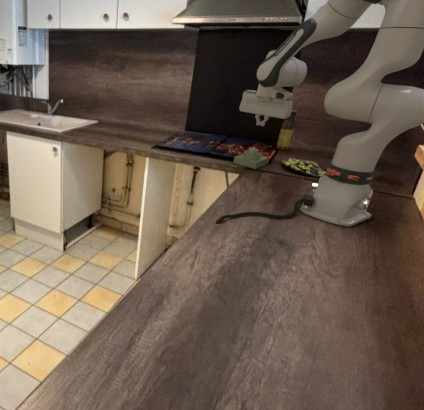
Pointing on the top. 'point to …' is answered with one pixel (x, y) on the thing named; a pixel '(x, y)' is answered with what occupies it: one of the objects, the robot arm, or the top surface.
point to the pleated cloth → (304, 167)
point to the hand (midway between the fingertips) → (260, 125)
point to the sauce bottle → (287, 132)
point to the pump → (253, 151)
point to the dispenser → (251, 160)
